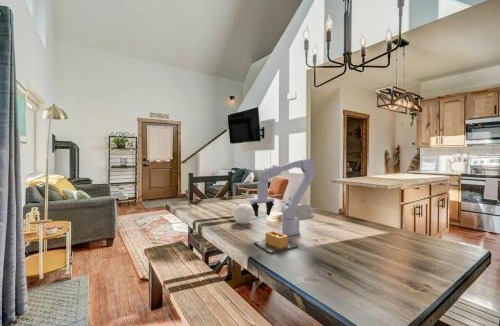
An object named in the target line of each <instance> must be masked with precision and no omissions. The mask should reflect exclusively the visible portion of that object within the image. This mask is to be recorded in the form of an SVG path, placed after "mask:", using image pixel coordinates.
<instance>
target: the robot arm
mask: <svg viewBox="0 0 500 326" xmlns="http://www.w3.org/2000/svg"><path fill="white" fill-rule="evenodd" d="M315 167H316V166H315V163H314V161H313V160H312V159H311V158H300V159H296V160H293V161H290V162H288V163H284V164H282V165H280V166H279V165H278V164H276V165H275V164H274V165H272V166H271V167H267V168H266V167H265V168H264V170H263V169H261V170H259V171H258V172H257V175H256V176H257V198H256V199H250V201H249V202H250V204H251V205H250V204H249V205H250V206H251V207H252V209H253V213H254V217H255V218H258V217H259V209H260V205H259V204H265V207H266V216H270V215H271V211H272V209H273V206H274V205H275V198H272V197H271V198H268V197H269V191H268V190H269V189H268V188H269V183H268V180H269V179H272V178H275V177H278V176H280V175H281V174H282V173H283V172H285V171H289V170H292V169H295V168H297V169H300V170H301V171H302V174H303V177H302V178H301V181H300V183H299V184H298V186H297V187H296V189H295V191H294V192H293V194H292V196H291V197H290V199H289V200H288V201H287V202H286V203H285V204H284V205H283V206H282V207H281V212H282V216H281V230H280V231H278V232H279V233H281V234H284V235H287V236H288V237H289V236H294V235H295V236H296V235H300V234H301V232H300V219H298V218H297V217H295V214H296V210H297V207H298V205H300V202H301V200H302V199H303V197H304V195H305V193H307V192H306V191H307V190H308V189H309V187H310V185H311V183H312V182H313V180H314V178H315Z"/></svg>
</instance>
